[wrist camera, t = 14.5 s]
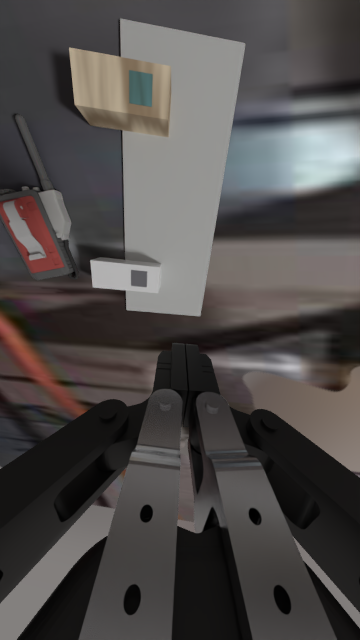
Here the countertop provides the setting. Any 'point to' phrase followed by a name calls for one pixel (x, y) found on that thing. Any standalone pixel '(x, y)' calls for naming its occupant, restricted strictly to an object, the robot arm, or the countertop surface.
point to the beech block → (122, 92)
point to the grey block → (126, 275)
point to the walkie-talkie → (38, 221)
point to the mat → (179, 163)
